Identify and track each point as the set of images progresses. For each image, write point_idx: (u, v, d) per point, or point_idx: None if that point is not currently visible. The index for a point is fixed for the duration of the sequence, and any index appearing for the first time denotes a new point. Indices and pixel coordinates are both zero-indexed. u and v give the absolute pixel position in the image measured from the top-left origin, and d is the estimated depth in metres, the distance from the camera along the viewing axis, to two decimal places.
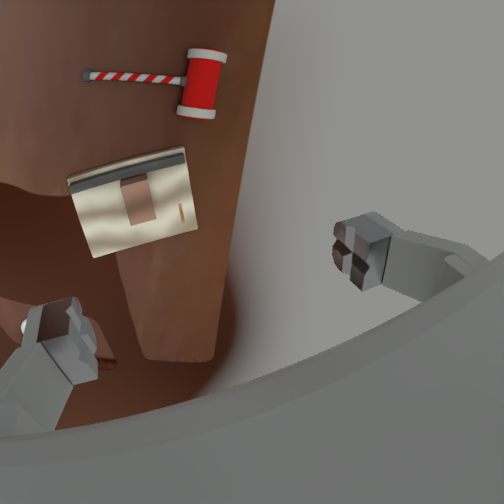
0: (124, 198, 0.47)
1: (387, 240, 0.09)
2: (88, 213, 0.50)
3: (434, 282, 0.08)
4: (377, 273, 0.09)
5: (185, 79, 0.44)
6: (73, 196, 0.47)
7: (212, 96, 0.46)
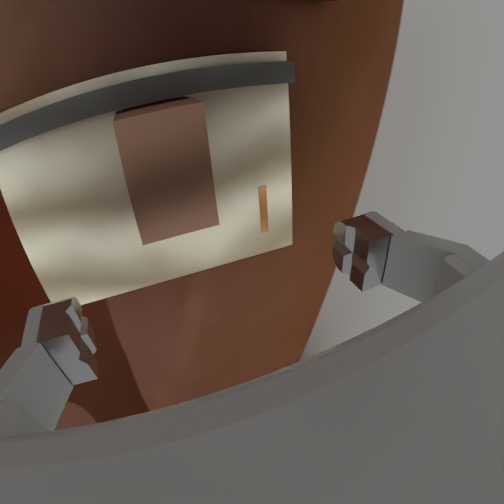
0: (124, 160, 0.14)
1: (387, 240, 0.09)
2: (33, 209, 0.18)
3: (434, 283, 0.08)
4: (377, 273, 0.09)
5: None
6: None
7: None
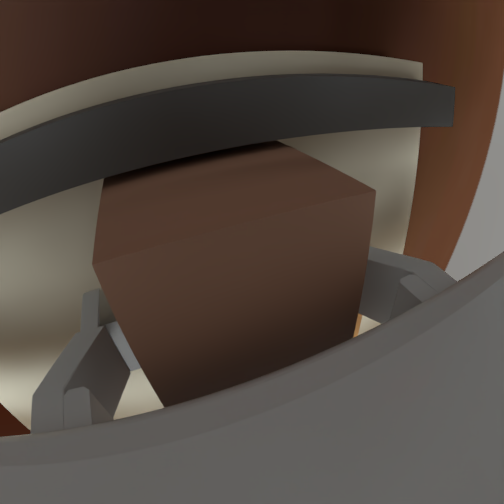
0: (149, 359, 0.05)
1: None
2: None
3: (394, 304, 0.08)
4: None
5: None
6: None
7: None
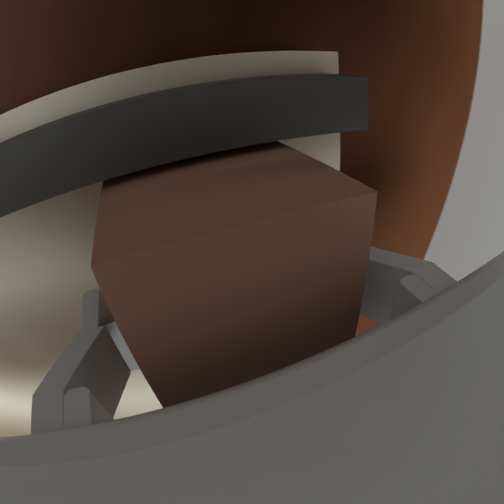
0: (148, 361, 0.05)
1: None
2: None
3: (393, 304, 0.08)
4: None
5: None
6: None
7: None
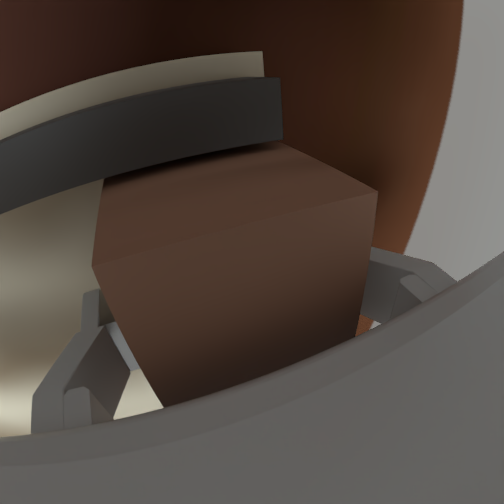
0: (149, 361, 0.05)
1: None
2: None
3: (393, 304, 0.08)
4: None
5: None
6: None
7: None
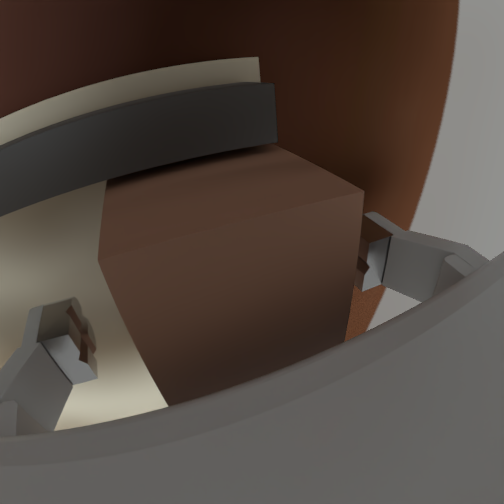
0: (149, 351, 0.05)
1: (387, 240, 0.09)
2: None
3: (434, 283, 0.08)
4: (377, 273, 0.09)
5: None
6: None
7: None
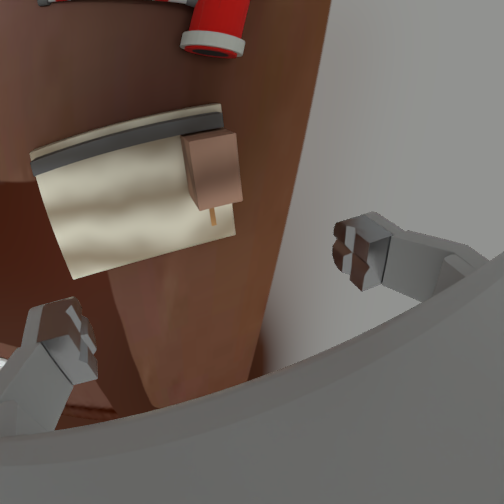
0: (193, 162, 0.28)
1: (387, 240, 0.09)
2: (62, 208, 0.30)
3: (434, 282, 0.08)
4: (377, 273, 0.09)
5: None
6: (39, 181, 0.27)
7: (240, 18, 0.24)
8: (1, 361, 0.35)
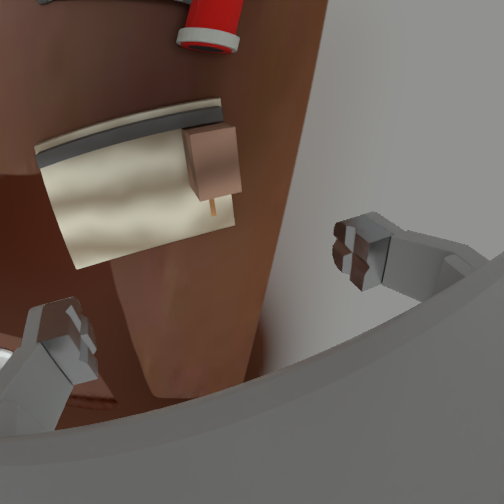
0: (194, 154, 0.29)
1: (387, 240, 0.09)
2: (66, 200, 0.31)
3: (434, 283, 0.08)
4: (377, 273, 0.09)
5: None
6: (43, 173, 0.28)
7: (235, 15, 0.25)
8: (4, 352, 0.37)
